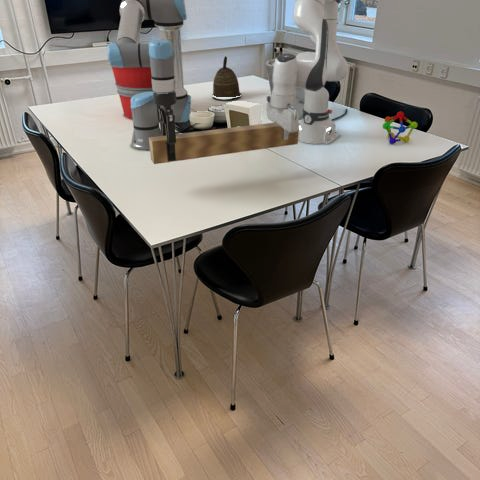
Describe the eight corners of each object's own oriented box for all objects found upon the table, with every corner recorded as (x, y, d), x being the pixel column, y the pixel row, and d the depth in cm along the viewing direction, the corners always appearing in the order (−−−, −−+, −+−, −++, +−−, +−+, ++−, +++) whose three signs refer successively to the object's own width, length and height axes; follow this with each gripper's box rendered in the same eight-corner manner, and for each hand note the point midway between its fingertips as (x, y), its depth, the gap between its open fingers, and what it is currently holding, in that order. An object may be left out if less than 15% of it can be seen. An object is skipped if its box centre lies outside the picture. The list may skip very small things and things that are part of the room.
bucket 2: (291, 126, 231) (295, 70, 216) (253, 114, 250) (254, 61, 235) (328, 115, 248) (333, 63, 233) (289, 104, 267) (292, 55, 252)
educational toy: (377, 146, 209) (379, 114, 202) (384, 138, 219) (386, 107, 211) (411, 149, 202) (415, 116, 195) (417, 141, 212) (420, 109, 204)
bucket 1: (123, 104, 265) (116, 50, 249) (181, 105, 264) (178, 51, 248) (106, 122, 236) (97, 62, 220) (172, 123, 235) (167, 63, 219)
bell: (227, 105, 294) (202, 96, 282) (238, 66, 289) (213, 55, 277) (243, 108, 280) (217, 98, 268) (255, 66, 275) (229, 55, 263)
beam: (154, 164, 155) (152, 141, 151) (150, 159, 159) (148, 137, 155) (297, 144, 175) (299, 123, 171) (291, 140, 179) (293, 120, 175)
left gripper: (182, 96, 141) (187, 165, 153) (168, 84, 155) (173, 148, 167) (159, 98, 139) (165, 168, 151) (147, 86, 153) (154, 151, 165)
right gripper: (304, 107, 159) (301, 144, 166) (278, 94, 175) (277, 128, 182) (289, 109, 157) (286, 146, 164) (264, 95, 173) (263, 130, 180)
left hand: (169, 157), depth 159 cm, fingers closed on beam, 5 cm apart
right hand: (281, 136), depth 173 cm, fingers closed on beam, 5 cm apart
